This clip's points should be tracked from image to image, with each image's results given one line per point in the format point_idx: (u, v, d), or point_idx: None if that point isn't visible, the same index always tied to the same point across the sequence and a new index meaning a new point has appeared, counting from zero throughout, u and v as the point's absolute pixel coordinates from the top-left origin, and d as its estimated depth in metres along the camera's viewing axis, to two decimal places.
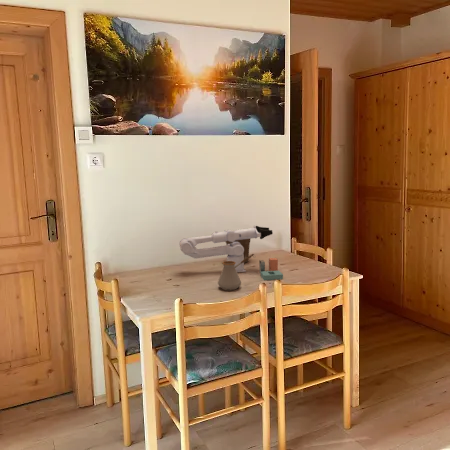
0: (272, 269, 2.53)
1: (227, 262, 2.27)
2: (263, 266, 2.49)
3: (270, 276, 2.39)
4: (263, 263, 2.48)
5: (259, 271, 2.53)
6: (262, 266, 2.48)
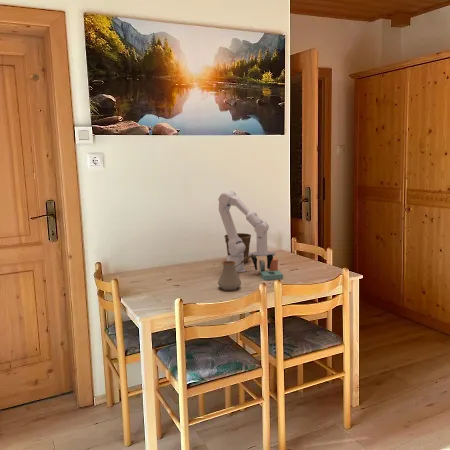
0: (272, 269, 2.53)
1: (227, 262, 2.27)
2: (263, 266, 2.49)
3: (270, 276, 2.39)
4: (263, 263, 2.48)
5: (259, 271, 2.53)
6: (262, 266, 2.48)
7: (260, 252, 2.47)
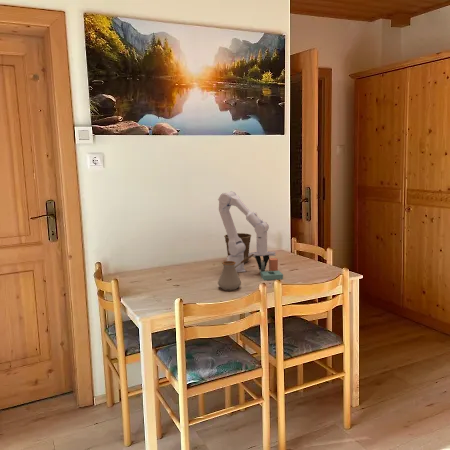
0: (272, 269, 2.53)
1: (227, 262, 2.27)
2: (263, 266, 2.49)
3: (270, 276, 2.39)
4: (263, 263, 2.48)
5: (259, 271, 2.53)
6: (262, 266, 2.48)
7: (260, 252, 2.47)
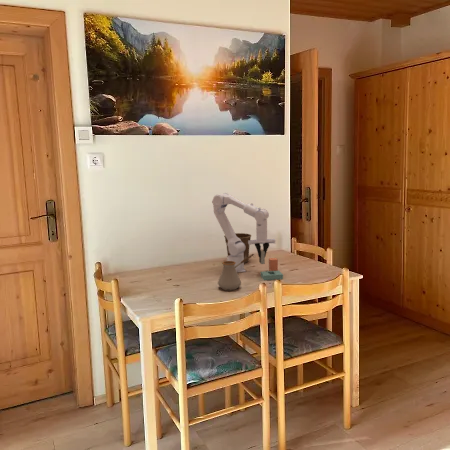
0: (272, 269, 2.53)
1: (227, 262, 2.27)
2: (263, 255, 2.48)
3: (270, 276, 2.39)
4: (263, 252, 2.47)
5: (259, 261, 2.52)
6: (262, 255, 2.48)
7: (260, 239, 2.46)
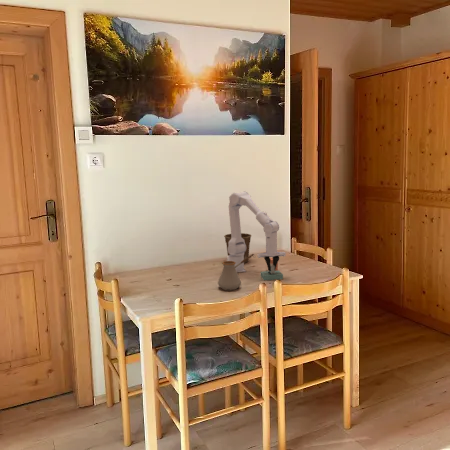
0: None
1: (227, 262, 2.27)
2: (273, 270, 2.40)
3: (270, 276, 2.39)
4: (273, 267, 2.40)
5: None
6: (272, 270, 2.40)
7: (270, 253, 2.38)
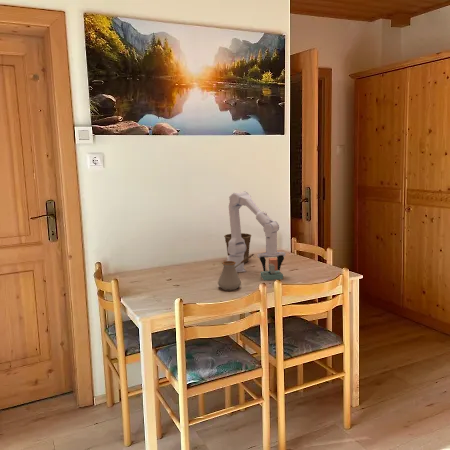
0: None
1: (227, 262, 2.27)
2: (273, 270, 2.40)
3: (270, 276, 2.39)
4: (273, 267, 2.40)
5: None
6: (272, 270, 2.40)
7: (270, 253, 2.38)
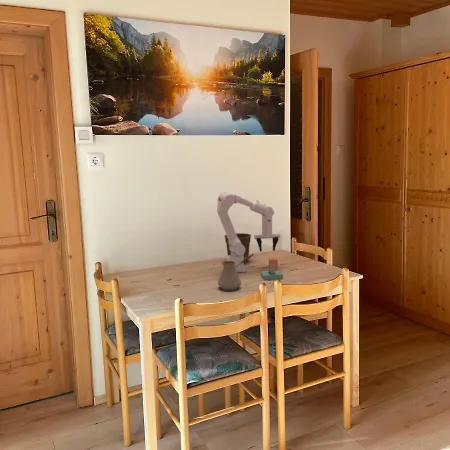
0: None
1: (227, 262, 2.27)
2: (273, 270, 2.40)
3: (270, 276, 2.39)
4: (273, 267, 2.40)
5: None
6: (272, 270, 2.40)
7: (265, 234, 2.59)
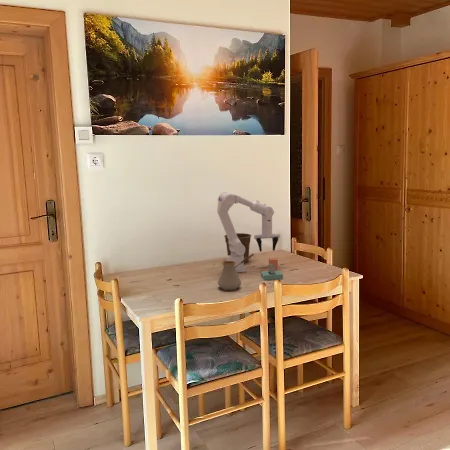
0: None
1: (227, 262, 2.27)
2: (273, 270, 2.40)
3: (270, 276, 2.39)
4: (273, 267, 2.40)
5: None
6: (272, 270, 2.40)
7: (265, 234, 2.59)
